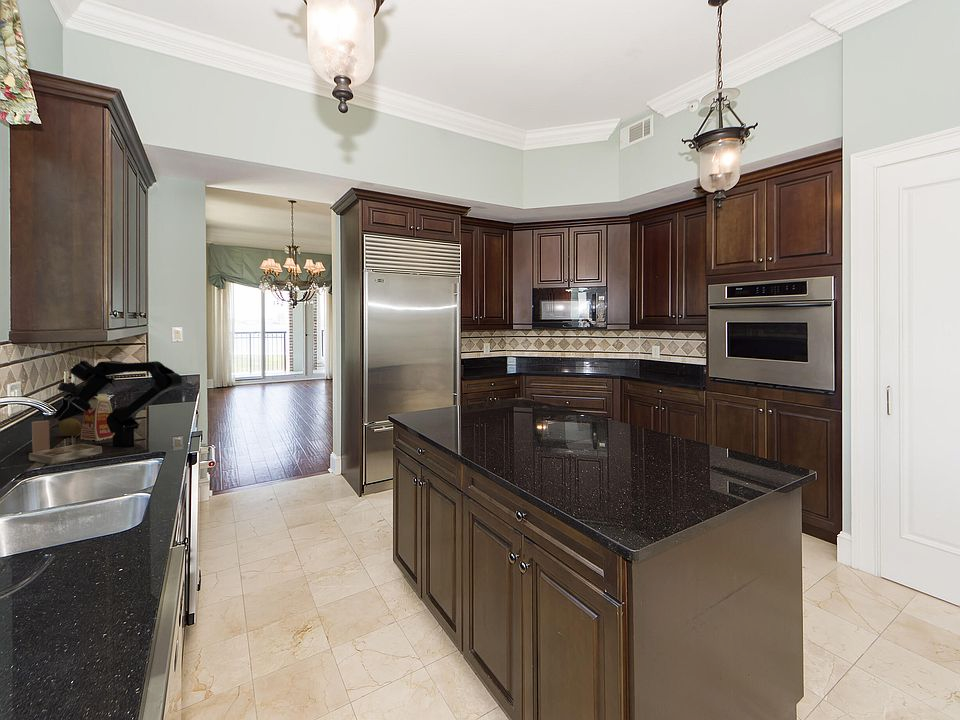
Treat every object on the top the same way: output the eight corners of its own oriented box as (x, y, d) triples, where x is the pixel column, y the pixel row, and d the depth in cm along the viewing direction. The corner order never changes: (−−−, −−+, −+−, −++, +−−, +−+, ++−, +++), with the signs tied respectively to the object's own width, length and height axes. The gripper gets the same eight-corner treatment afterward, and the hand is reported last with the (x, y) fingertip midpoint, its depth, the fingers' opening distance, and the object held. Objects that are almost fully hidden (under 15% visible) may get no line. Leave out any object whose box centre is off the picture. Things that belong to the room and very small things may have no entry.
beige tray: (80, 451, 179) (80, 443, 179) (102, 454, 175) (101, 446, 175) (29, 461, 164) (28, 453, 164) (51, 465, 160) (51, 457, 160)
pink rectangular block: (49, 451, 178) (48, 420, 177) (49, 452, 176) (49, 421, 176) (32, 453, 175) (31, 421, 174) (33, 454, 173) (32, 422, 172)
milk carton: (97, 440, 196) (96, 393, 195) (79, 439, 198) (78, 392, 197) (117, 436, 205) (117, 391, 204) (100, 434, 207) (99, 390, 205)
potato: (83, 436, 202) (82, 418, 202) (59, 439, 197) (59, 420, 197) (82, 434, 207) (81, 416, 207) (59, 436, 202) (58, 418, 202)
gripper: (68, 372, 187) (31, 402, 179) (78, 376, 175) (39, 408, 167) (94, 390, 194) (59, 420, 186) (105, 395, 182) (69, 427, 174)
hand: (56, 418), depth 178 cm, fingers open, 9 cm apart
